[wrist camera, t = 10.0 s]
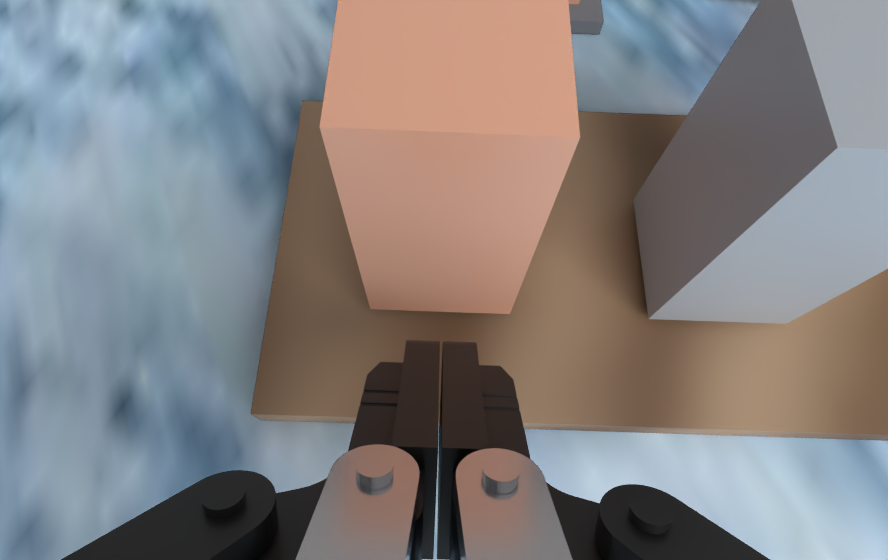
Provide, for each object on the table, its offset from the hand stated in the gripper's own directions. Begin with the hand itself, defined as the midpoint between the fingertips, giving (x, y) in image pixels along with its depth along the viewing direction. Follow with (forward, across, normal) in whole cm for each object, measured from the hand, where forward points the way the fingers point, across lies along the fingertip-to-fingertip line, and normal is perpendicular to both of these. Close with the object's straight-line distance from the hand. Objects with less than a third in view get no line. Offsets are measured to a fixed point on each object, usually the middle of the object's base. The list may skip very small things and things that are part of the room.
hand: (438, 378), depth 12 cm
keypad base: (+7, -6, 0) cm, 9 cm away
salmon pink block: (+5, 0, -1) cm, 6 cm away
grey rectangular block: (+5, -8, -1) cm, 10 cm away
